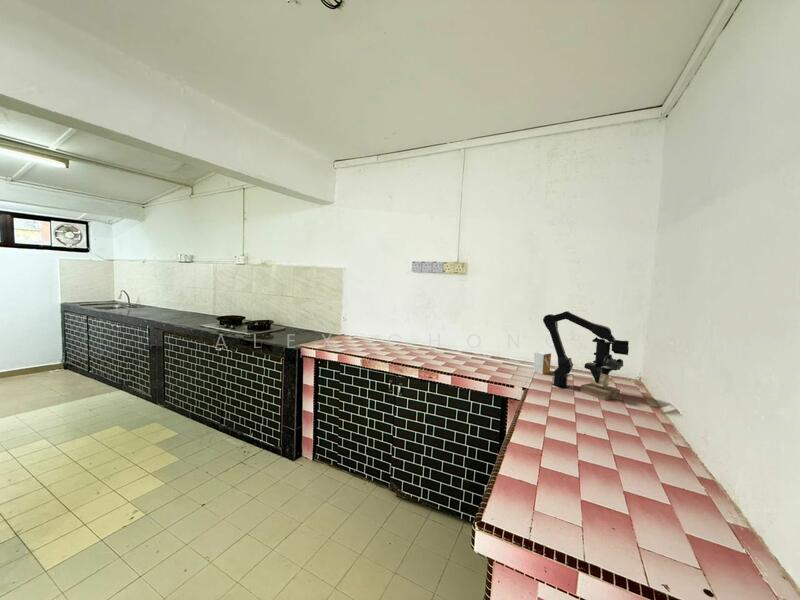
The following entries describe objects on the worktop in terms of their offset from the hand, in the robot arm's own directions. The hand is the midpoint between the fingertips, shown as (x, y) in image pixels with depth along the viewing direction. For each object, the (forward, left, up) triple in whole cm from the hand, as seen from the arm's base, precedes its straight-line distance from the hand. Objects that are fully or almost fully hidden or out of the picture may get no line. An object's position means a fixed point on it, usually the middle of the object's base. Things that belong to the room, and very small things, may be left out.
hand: (600, 382), depth 153 cm
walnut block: (0, 0, -7) cm, 7 cm away
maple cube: (0, 0, -1) cm, 1 cm away
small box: (+2, +36, -6) cm, 37 cm away
